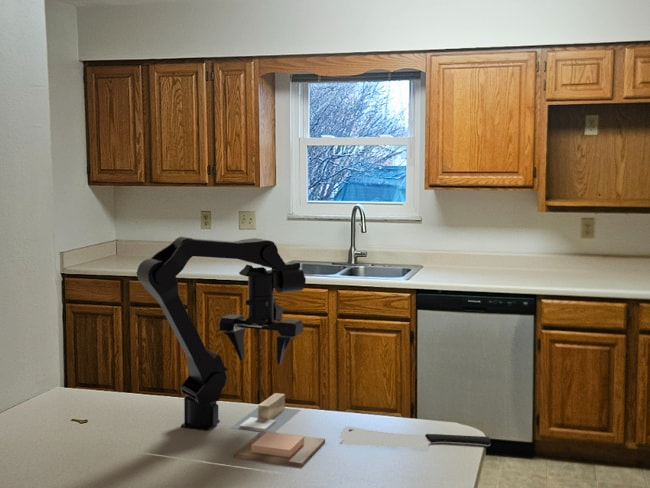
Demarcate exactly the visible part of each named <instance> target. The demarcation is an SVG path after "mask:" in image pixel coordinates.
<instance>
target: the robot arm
mask: <svg viewBox="0 0 650 488" xmlns="http://www.w3.org/2000/svg"><path fill="white" fill-rule="evenodd" d="M193 257H198V258H199V257H200V258H215V259H232V260H239V261H243V262H245V263H251V264H255V265H259V266H261V267H253V266H252V265H251V264H246V265H245V266H244V267H243V269H241V270H240V271H239V272H238V273H239V275H240V276H244V277H247V278H248V279H247V286H248V287H247V294H248V295H247V299H246V300H245V306H247V309H248V310H247V318H245V317H244V315H242V314H232V313H231V314H227V315H224V316H222V317H221V318H219V319H218V320H219V321H218V322H217V323H218V331H222V332H223V335H226V336H227V337H228V338H229V341H230V342H231V344H232V345H233V348H234V349H235V352H236V354H237V356H238V358H239V360H240V362H242V361H244V360H245V343H244V342H245V341H244V339H245V338H244V336H245V331H246V329H255V330H267V331H268V330H269V331H275V332H276V331H278V334H279V335H278V336H276V363H277V366H280V365H282V362H283V359H284V357H285V354H286V350H287V347H288V345H289V344H290V341H291V340H292V339H293V338H296V337H297V336H299V335H300V334H302V333H303V332H304V323H303V321H302V320H301V319H296V318H295V319H294V318H285V319H284V320H283V315H284V307H283V306H281V305H279V304H277V300H276V297H274V293H275V291H276V293H278V294H281V293H290V292H291V293H292V292H300V291H301V292H302V291H303V290H304V288H305V286H306V281H307V280H306V279H307V278H306V276H305V273H304V270H303V269H302V267H301V262H299V261H292V262H285V261H284V259H283V258H282V257H281V255H280V253H279V251H278V246H277V245H276V243H275V242H274V241H273V240H268V239H262V238H258V237H256V238H246V239H240V240H234V241H232V240H231V241H228V240H227V241H226V240H215V239H201V238H191V237H186V236H179V237H177V238H175V239H174V240H173V242H171V243H170V244H168V246H166V247H164V248H161V250H159V251H158V252H156V253H155V254H154V255H152V257H151V258H147V259H145V260H144V259H143V261H142V262H141V263H140V264H139V266H138V267H137V270H136V277H137V279H138V282H140V284H141V285H142V286H143V288H144V289H145V290H146V291H147V293H149V295H150V296H152V298H153V299H155V301H156V302H157V303H158V304H159V306H160V309H161V310H162V312H163V314H164V316H165V318H166V319H167V322H168V324H169V326H170V327H171V329H172V331H173V333H174V335H175V337H176V339H177V340H178V342H179V344H180V347H181V349H182V350H183V352H184V354H185V356H186V362H187V363H186V367H187V370H188V373H189V374H188V376H187V377H186V378H185V380H184V381H183V382H182V383H181V384H180V386H179V388H180V391H181V393H182V395H183V396H185V397H184V399H183V404H184V405H183V407H184V409H183V411H184V413H183V414H184V415H183V416H184V422H183V423H182V424H181V425H180V428H183V429H189V430H196V431H197V430H198V431H205V432H207V431H209V430H210V429H212V428H213V427H215V426H216V425H218V424H220V423H221V420H220V419H219V404H217V402H219V400H220V397H221V394H222V391H223V388H224V387H225V386H226V382H227V380H228V375H227V371H228V370H229V369H228V368H227V367H226V366H225V365H224V363H223V360H222V357H221V355H220V354H218V353H216V352H214V351H211V350H210V349H207V348H206V347H205V344H204V343H203V340H202V338H201V336H200V335H199V332H198V331H197V328H196V327H195V325H194V322H193V321H192V319H191V317H190V314H189V313H188V310H187V309H186V307H185V305H184V303H183V301H182V299H181V298H180V293H179V282H178V279H177V275H179V274H180V273H181V272H182V271H183V270H184V268H185V267H186V265H187V264H188V262H189V261H190V260H191V259H192V258H193ZM266 268H270V269H271V270H268V269H266Z"/></svg>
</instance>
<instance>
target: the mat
mask: <svg viewBox="0 0 650 488" xmlns="http://www.w3.org/2000/svg"><path fill="white" fill-rule="evenodd" d="M300 411H301V409H295V408H286V407H285V409H284V410H282V411H281V412H280V413H279V414H277V415H276V416H275V417H274V418H272V419H271V420H276V423H275V424H274V425H273V426H271V427H270V428H269V429H268V430H266V431H269V432H276V433H277V432H278V430H279V429H280V428H281V427H283V426H284V425H285V424H286V423H287V422H289V421H290V420H291V419H293V417H294V416H296V415H297V414H298V413H299V412H300ZM250 417H254V418H258V407H256V408H255V409H254V410H252V411H251V412H250V413H248V414H247V415H246V416H244V417H243V418H241V419H239V420H238V421H237V422H235V424H232V426H230V427H229V429H234V430H241V431H242V430H243V431H250V432H256V433H260V432H261V431H257V430H249V429H242V428H239V425H241V424H242V423H243V422H245V421H246V420H247V419H249V418H250Z"/></svg>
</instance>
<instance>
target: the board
mask: <svg viewBox="0 0 650 488" xmlns="http://www.w3.org/2000/svg"><path fill="white" fill-rule="evenodd" d="M266 432H269V431H261V432H258V434H257V435H255V436H253V438H251V439H250V440H249V441H248V442H246V443H245V444H244V445H243V446H241V447H240V448H239V449H238V450H237V451H235V452H234V453H233V458H234V459H235V458H236V459H242V460H243V459H244V460H249V461H256V462H257V461H258V462H264V463H271V464H278V465H284V466H292V467H300V468H302V467H303V466H304V465H305V464H307V462H308V461H309V460H310V459H311V458H312V457H313V456H314V455H315V454H316V452H317V451H319V450H320V448H321V447H322V446H324V444H325V443H326V438H321V437H314V436H307V435H303V436H304V444H303V445H302V446H301V447H300V448H299V449H298V450H297V451H296V452H295V453H294V454H293V455H292V456H291V457H290V458H287V457H280V456H273V455H266V454H259V453H253V452H251V445H252V444H253V443H254V442H256V441H257V440H258V439H259V438H260V437H262V436H263V435H264V434H265V433H266ZM273 433H277V431H276V432H273ZM280 433H281V434H285V433H283V432H280ZM287 434H288V435H293V433H292V434H290V433H287ZM295 435H296V436H301V435H298V434H295Z"/></svg>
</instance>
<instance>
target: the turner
mask: <svg viewBox="0 0 650 488" xmlns="http://www.w3.org/2000/svg"><path fill="white" fill-rule="evenodd" d="M285 404H286V393H278V392H275V393H273V394H272V395H270V396H269V397H268V398H266V399H265V400H263V401H262V402H260V403H259V404H258V405H257V408H258V418H254V417H250V418H249V419H247V420H246V421H245V422H243V423H242V424H241V425H239V428H242V429H249V430H257V431H266V430H268V429H269V428H270V427H271V426H273V425H274V424H275V423H276V420H271V419H272V418H274V417H275V416H276V415H277V414H279V413H280V412H281V411H282V410H284V409H285V408H286V407H285V406H286V405H285Z"/></svg>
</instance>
